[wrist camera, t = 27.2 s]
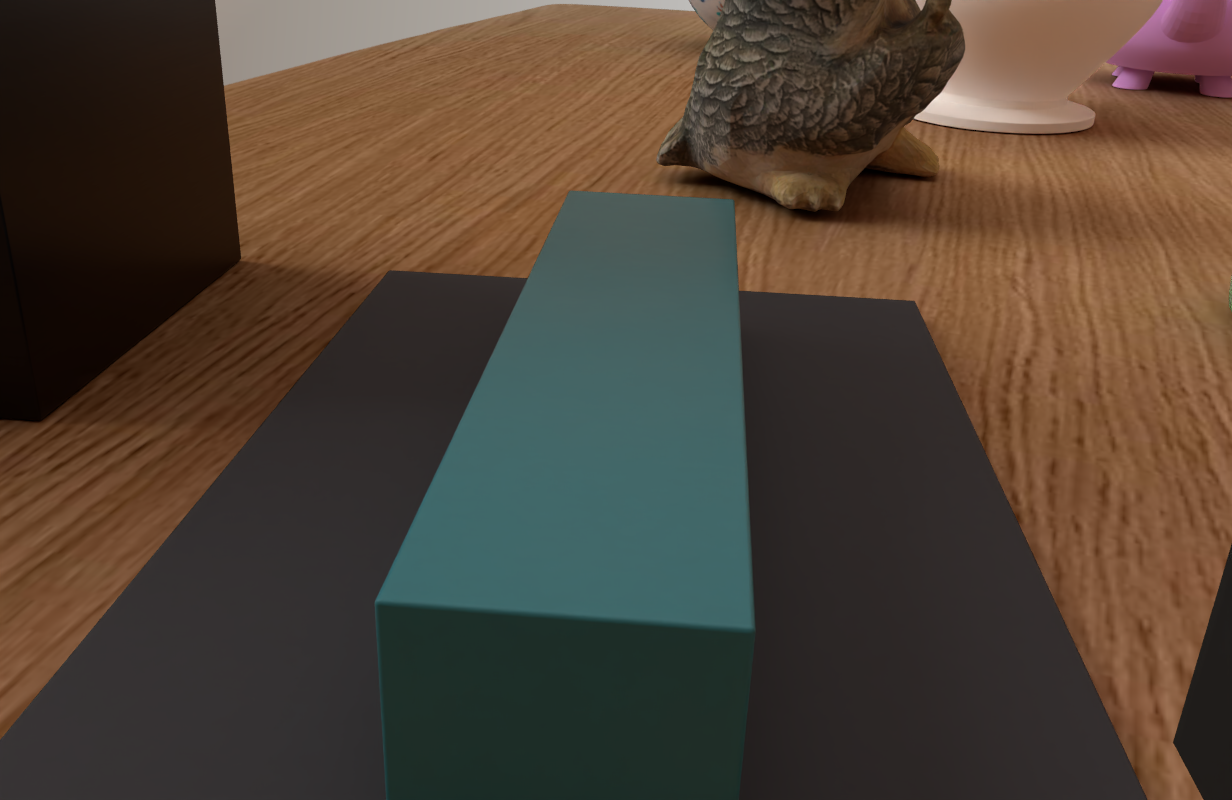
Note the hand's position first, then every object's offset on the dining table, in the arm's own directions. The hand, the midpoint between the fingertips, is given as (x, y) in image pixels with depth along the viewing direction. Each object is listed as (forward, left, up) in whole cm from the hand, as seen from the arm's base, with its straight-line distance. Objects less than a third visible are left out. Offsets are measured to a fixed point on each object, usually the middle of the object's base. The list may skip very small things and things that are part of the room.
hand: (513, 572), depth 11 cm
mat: (0, +16, -7) cm, 17 cm away
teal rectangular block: (+3, +14, -5) cm, 15 cm away
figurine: (+7, +46, -8) cm, 47 cm away
